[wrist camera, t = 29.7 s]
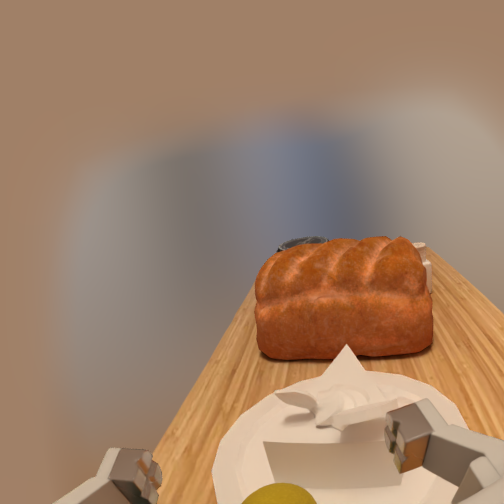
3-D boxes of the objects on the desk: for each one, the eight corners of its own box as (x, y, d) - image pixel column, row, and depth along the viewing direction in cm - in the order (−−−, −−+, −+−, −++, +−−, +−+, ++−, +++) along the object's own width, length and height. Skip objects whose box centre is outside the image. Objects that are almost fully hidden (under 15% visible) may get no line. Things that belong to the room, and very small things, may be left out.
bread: (436, 357, 34) (439, 242, 31) (251, 362, 45) (228, 264, 41) (424, 310, 47) (421, 220, 43) (278, 320, 57) (263, 238, 54)
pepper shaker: (416, 299, 52) (414, 249, 49) (405, 292, 55) (403, 245, 53) (433, 293, 52) (431, 244, 50) (421, 287, 56) (419, 240, 54)
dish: (483, 544, 9) (549, 465, 6) (173, 537, 17) (110, 464, 15) (446, 369, 31) (452, 286, 29) (256, 382, 40) (238, 307, 37)
